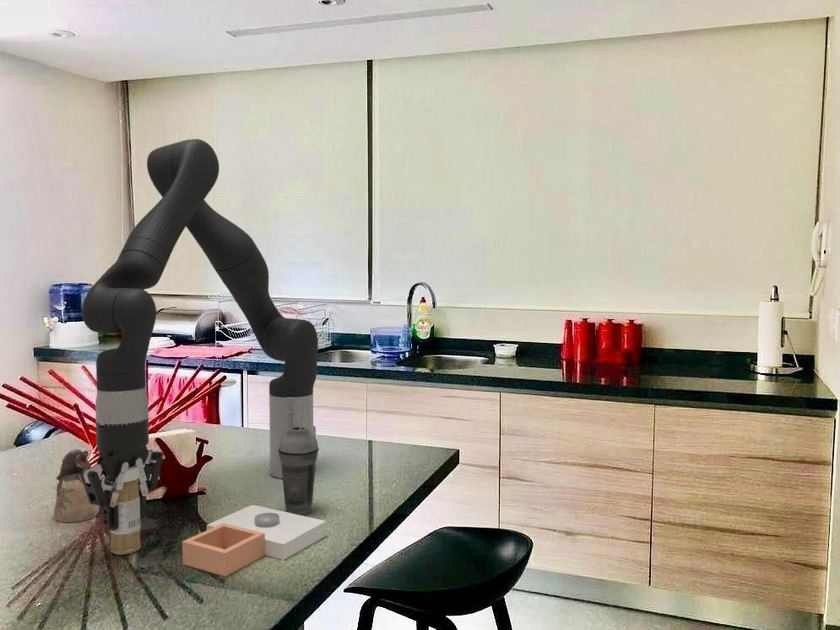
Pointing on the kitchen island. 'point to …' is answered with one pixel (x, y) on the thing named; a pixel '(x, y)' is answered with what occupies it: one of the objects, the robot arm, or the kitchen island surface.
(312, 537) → the white knobbed panel
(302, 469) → the beverage cup
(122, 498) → the sprinkles bottle
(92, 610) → the kitchen island surface
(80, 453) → the figurine
